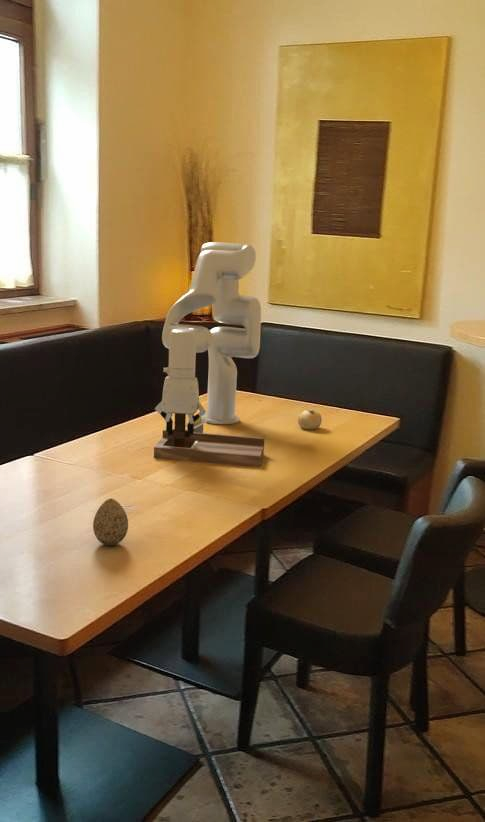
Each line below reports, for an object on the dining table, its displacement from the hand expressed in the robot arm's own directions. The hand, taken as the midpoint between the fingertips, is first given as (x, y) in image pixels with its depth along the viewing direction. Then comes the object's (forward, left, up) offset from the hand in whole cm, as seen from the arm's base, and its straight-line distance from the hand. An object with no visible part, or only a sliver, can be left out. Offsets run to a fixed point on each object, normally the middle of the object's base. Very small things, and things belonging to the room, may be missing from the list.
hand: (179, 434), depth 233 cm
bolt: (0, 0, -4) cm, 4 cm away
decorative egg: (+68, -1, -6) cm, 68 cm away
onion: (-41, +36, -6) cm, 55 cm away
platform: (-19, +1, -6) cm, 20 cm away
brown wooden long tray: (0, +9, -6) cm, 11 cm away
